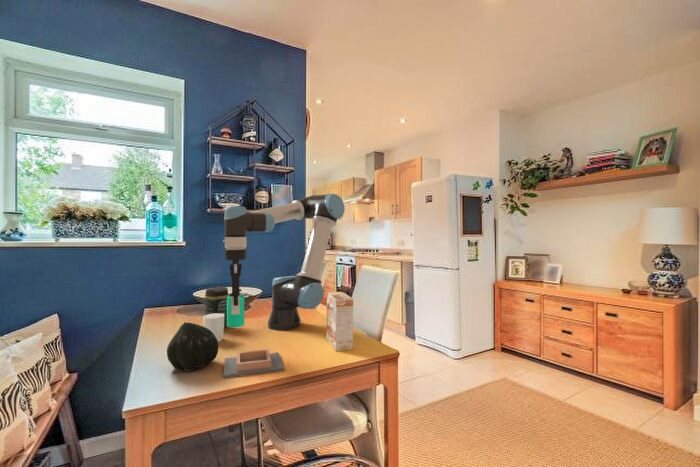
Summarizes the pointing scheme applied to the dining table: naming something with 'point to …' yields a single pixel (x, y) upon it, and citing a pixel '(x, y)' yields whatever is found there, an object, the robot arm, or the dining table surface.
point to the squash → (192, 347)
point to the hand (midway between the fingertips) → (235, 311)
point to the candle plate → (252, 363)
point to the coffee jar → (217, 301)
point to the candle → (235, 319)
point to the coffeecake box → (340, 321)
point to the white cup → (215, 324)
